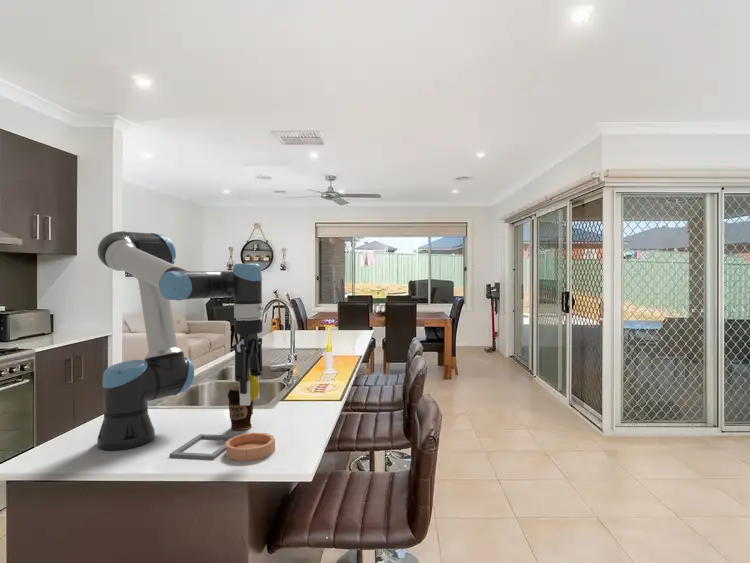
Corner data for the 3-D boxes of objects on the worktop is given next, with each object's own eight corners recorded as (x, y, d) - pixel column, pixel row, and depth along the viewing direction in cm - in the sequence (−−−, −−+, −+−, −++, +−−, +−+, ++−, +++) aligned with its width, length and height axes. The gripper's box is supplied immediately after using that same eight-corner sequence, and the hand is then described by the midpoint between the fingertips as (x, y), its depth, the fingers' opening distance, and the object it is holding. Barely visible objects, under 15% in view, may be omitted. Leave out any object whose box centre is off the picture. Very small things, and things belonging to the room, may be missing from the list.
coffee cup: (247, 432, 146) (246, 391, 146) (222, 431, 148) (222, 390, 147) (259, 424, 154) (258, 385, 154) (236, 422, 156) (235, 384, 156)
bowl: (217, 459, 125) (217, 448, 125) (238, 442, 138) (238, 432, 138) (263, 461, 123) (263, 450, 123) (281, 444, 136) (280, 433, 136)
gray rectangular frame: (169, 456, 127) (169, 453, 127) (200, 436, 143) (200, 434, 143) (214, 459, 125) (214, 456, 125) (240, 438, 141) (240, 435, 141)
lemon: (241, 400, 133) (241, 372, 133) (261, 399, 133) (260, 371, 133) (237, 405, 127) (236, 376, 127) (257, 405, 128) (257, 376, 127)
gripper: (247, 322, 120) (248, 412, 120) (273, 315, 138) (274, 393, 139) (219, 322, 121) (221, 411, 122) (249, 315, 140) (251, 393, 140)
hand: (249, 401), depth 130 cm, fingers closed on lemon, 5 cm apart
